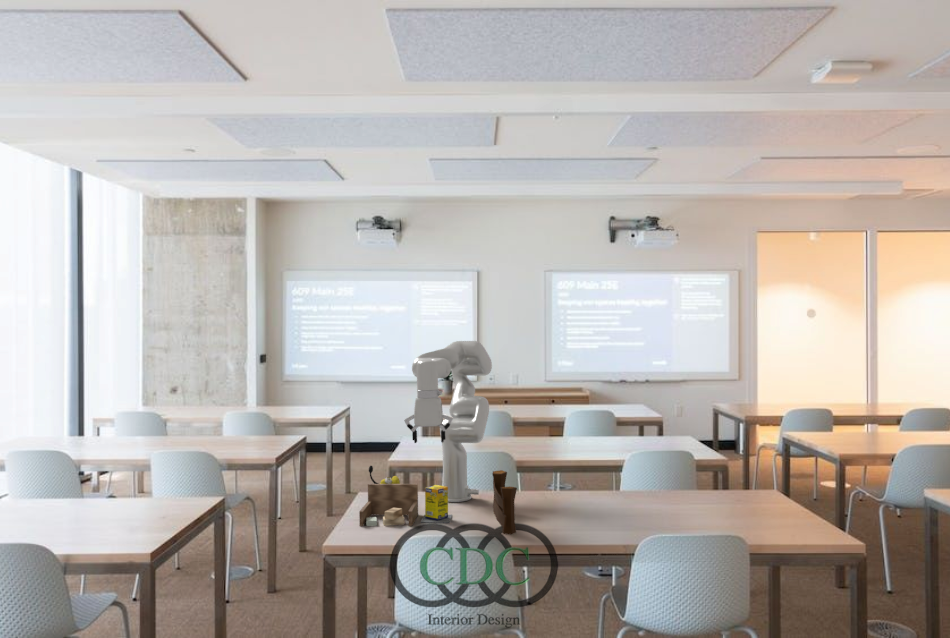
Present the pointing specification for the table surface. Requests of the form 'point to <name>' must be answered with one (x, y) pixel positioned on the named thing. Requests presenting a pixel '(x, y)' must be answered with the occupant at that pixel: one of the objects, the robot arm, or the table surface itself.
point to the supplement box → (436, 502)
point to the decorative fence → (504, 502)
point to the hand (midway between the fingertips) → (429, 442)
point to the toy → (385, 481)
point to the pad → (445, 520)
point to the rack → (391, 501)
